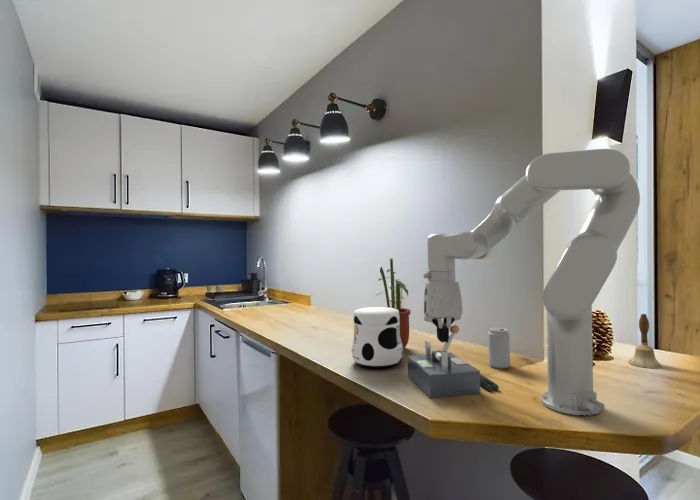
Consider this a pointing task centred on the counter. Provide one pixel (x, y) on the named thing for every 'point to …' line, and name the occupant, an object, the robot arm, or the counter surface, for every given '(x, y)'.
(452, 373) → the breaker panel
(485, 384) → the cord bundle
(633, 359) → the hand bell
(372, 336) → the milk container
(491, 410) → the counter surface
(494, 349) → the beverage can
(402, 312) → the potted plant
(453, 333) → the lever
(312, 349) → the counter surface
